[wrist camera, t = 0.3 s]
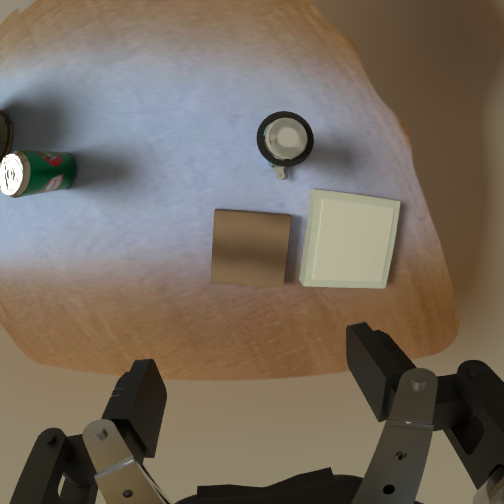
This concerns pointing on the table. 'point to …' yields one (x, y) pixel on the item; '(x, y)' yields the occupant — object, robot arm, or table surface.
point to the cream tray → (348, 240)
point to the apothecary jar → (5, 134)
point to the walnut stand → (249, 248)
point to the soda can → (36, 172)
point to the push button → (284, 140)
